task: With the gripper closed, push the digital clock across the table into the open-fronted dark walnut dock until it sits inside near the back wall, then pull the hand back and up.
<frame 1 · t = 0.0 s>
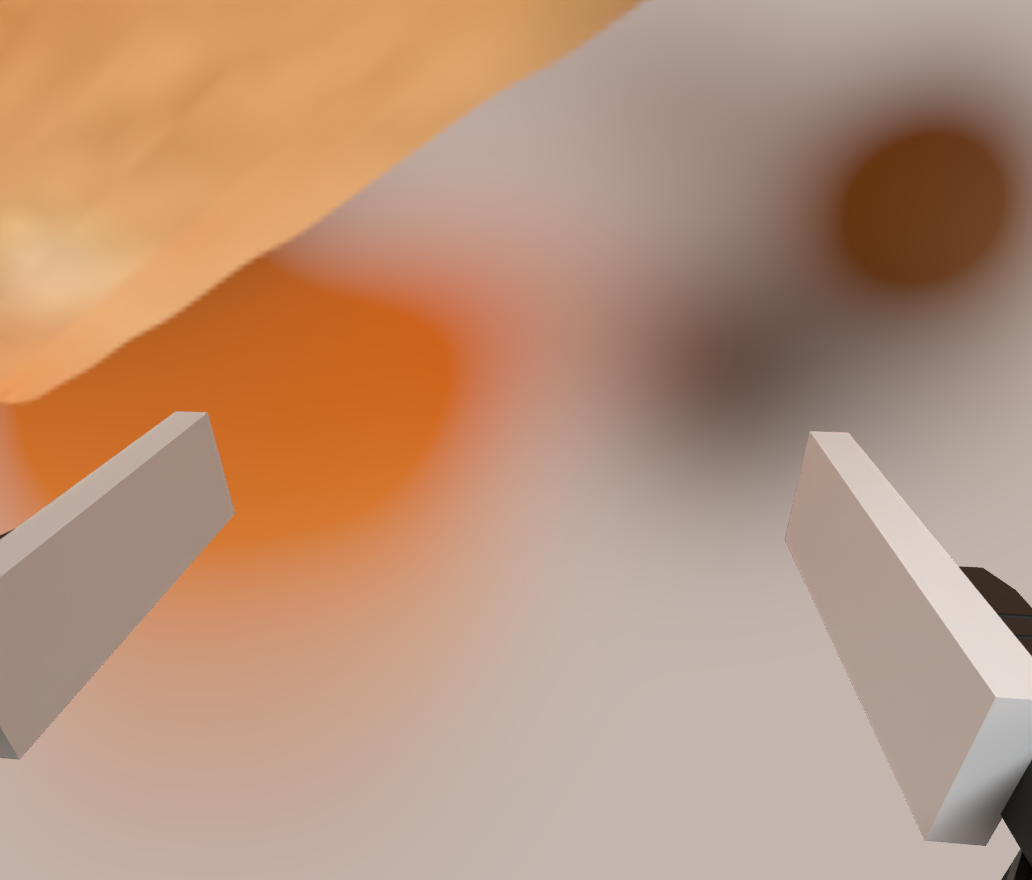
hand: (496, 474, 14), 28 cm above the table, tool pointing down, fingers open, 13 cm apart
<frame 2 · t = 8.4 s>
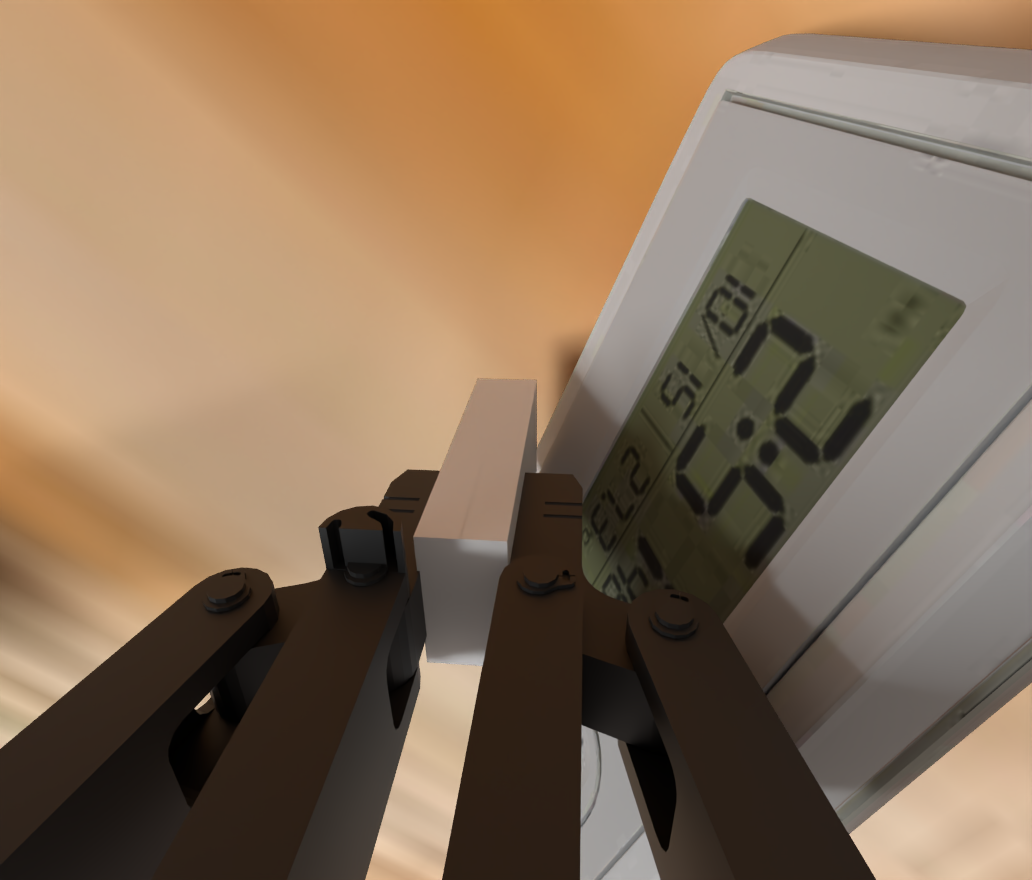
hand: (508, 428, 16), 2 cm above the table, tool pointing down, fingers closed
digital clock: (671, 384, 17), on the table, touching gripper
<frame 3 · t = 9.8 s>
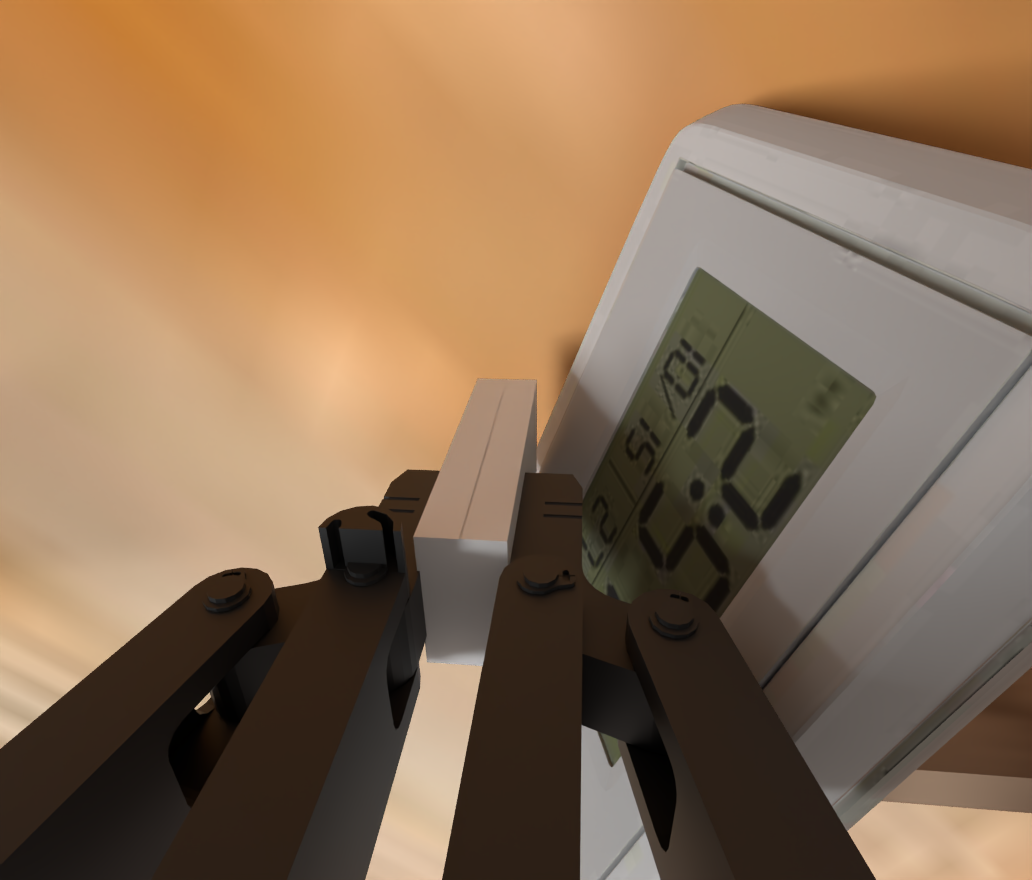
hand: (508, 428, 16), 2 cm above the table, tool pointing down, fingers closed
digital clock: (647, 423, 18), on the table, touching gripper
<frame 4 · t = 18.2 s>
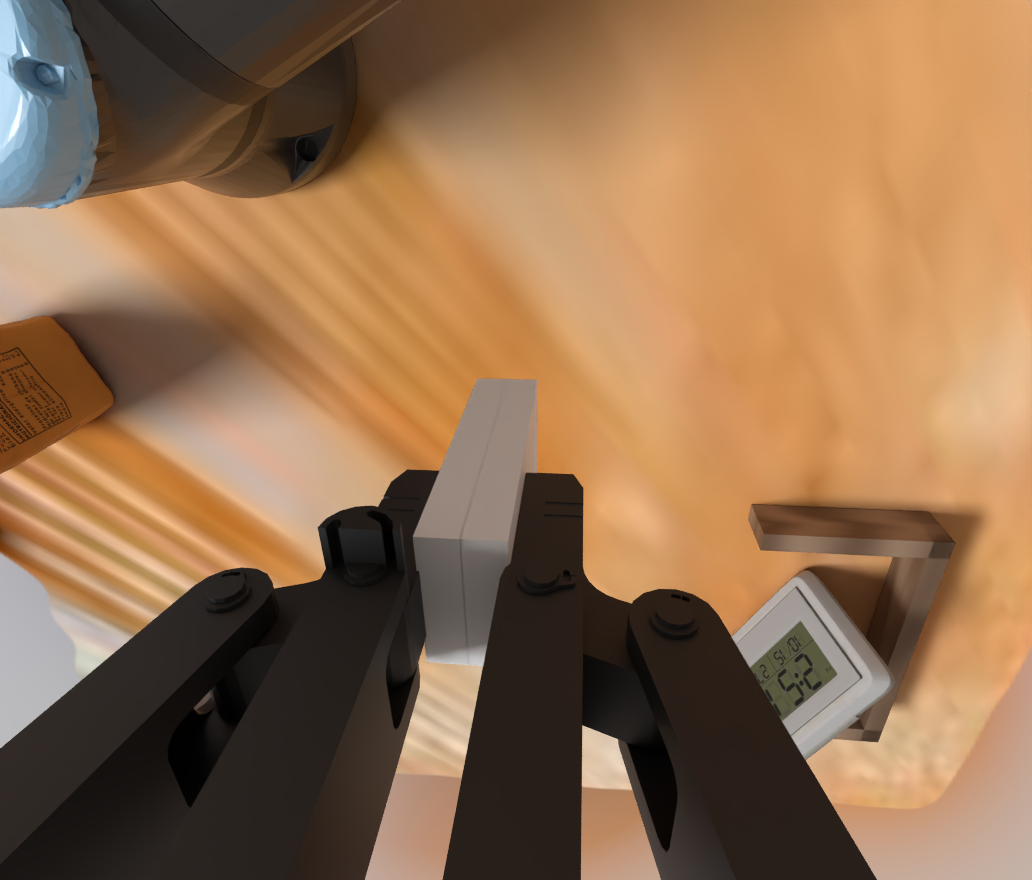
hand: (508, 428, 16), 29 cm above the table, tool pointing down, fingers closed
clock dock: (801, 612, 55), on the table
digital clock: (764, 630, 56), on the table
coffee package: (40, 374, 51), on the table
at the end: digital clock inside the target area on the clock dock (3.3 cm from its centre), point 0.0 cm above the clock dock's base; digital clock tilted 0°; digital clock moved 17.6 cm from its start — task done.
